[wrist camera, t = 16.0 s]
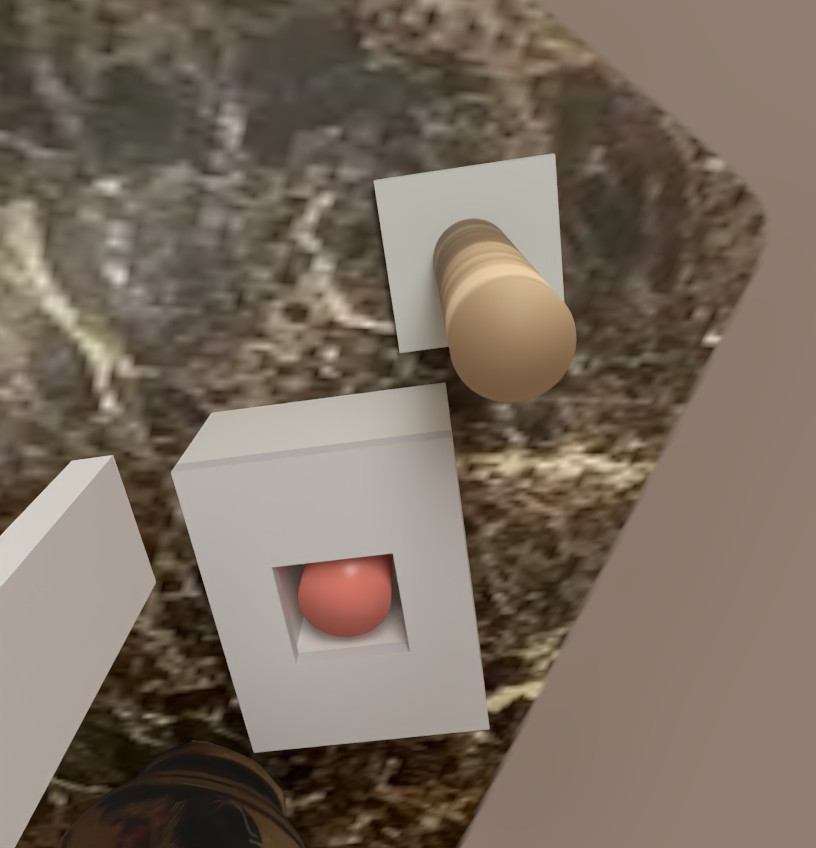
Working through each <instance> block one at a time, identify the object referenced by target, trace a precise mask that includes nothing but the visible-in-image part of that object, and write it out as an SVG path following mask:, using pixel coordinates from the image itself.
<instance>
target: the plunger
mask: <svg viewBox="0 0 816 848" xmlns="http://www.w3.org/2000/svg"><path fill="white" fill-rule="evenodd" d="M392 571H393V553H392V554H384V555H375V556H366V557H358V558H349V559H340V560H332V561H323V562H315V563H306V564H305V566H304V570H303V574H302V578H301V582H300V586H299V591H298V602H299V606H300V609H301V611H302V613H303V615H304V616H305V618H306V619H307V620H308V621H309V622H310V623H311V624H312V625H313V626H315V627H316V628H318V629H319V630H321V631H323V632H325V633H328V634H331V635H335V636H344V637H349V636H357V635H361V634H364V633H367V632H369V631H371V630H373V629H374V628H376V627H377V626H378V625H379V624H381V623H382V621H383V620H384V619H385V618H386V616H387V614H388V612H389V609H390V605H391V590H392Z"/></svg>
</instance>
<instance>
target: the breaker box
mask: <svg viewBox="0 0 816 848" xmlns="http://www.w3.org/2000/svg"><path fill="white" fill-rule="evenodd" d="M171 474H172V478H173V481H174V485H175V488H176V491H177V495H178V498H179V502H180V505H181V508H182V512H183V515H184V518H185V522H186V525H187V529H188V532H189V535H190V539H191V542H192V546H193V549H194V552H195V556H196V559H197V562H198V566H199V569H200V573H201V576H202V579H203V583H204V586H205V590H206V593H207V596H208V600H209V603H210V606H211V610H212V613H213V617H214V620H215V623H216V627H217V630H218V633H219V637H220V640H221V644H222V647H223V650H224V654H225V657H226V661H227V664H228V667H229V671H230V674H231V677H232V681H233V684H234V688H235V691H236V694H237V698H238V701H239V705H240V708H241V711H242V715H243V718H244V721H245V725H246V728H247V732H248V735H249V738H250V742H251V745H252V748H253V752H254V753H257V752H267V751H277V750H287V749H297V748H307V747H317V746H327V745H337V744H347V743H357V742H367V741H377V740H387V739H397V738H407V737H417V736H427V735H437V734H447V733H457V732H467V731H477V730H487V729H490V728H489V720H488V711H487V703H486V694H485V686H484V678H483V669H482V661H481V652H480V644H479V636H478V628H477V620H476V613H475V605H474V597H473V590H472V582H471V574H470V567H469V559H468V551H467V544H466V536H465V528H464V520H463V513H462V505H461V497H460V490H459V482H458V474H457V467H456V459H455V451H454V444H453V436H452V428H451V420H450V413H449V405H448V397H447V390H446V382H444V383H436V384H429V385H421V386H413V387H406V388H398V389H390V390H383V391H375V392H367V393H360V394H352V395H344V396H337V397H329V398H321V399H314V400H306V401H298V402H291V403H283V404H275V405H268V406H260V407H252V408H245V409H237V410H229V411H222V412H214V413H211V415H210V416H209V417H208V419H207V420H206V422H205V423H204V425H203V426H202V428H201V429H200V431H199V432H198V434H197V435H196V436H195V438H194V439H193V441H192V442H191V444H190V445H189V447H188V448H187V450H186V451H185V452H184V454H183V455H182V457H181V458H180V460H179V461H178V463H177V464H176V466H175V467H174V469H173V470H172V471H171ZM392 553H393V571H392V590H391V605H390V609H389V612H388V614H387V616H386V618H385V619H384V620H383V621H382V623H381V624H379V625H378V626H377V627H376V628H374V629H373V630H371V631H369V632H367V633H364V634H361V635H357V636H349V637H344V636H335V635H331V634H328V633H325V632H323V631H321V630H319V629H318V628H316V627H315V626H313V625H312V624H311V623H310V622H309V621H308V620H307V619H306V618H305V616H304V615H303V613H302V611H301V609H300V606H299V602H298V591H299V586H300V582H301V578H302V574H303V570H304V566H305V564H306V563H315V562H323V561H332V560H340V559H349V558H358V557H366V556H375V555H384V554H392Z"/></svg>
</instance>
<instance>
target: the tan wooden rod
mask: <svg viewBox="0 0 816 848" xmlns="http://www.w3.org/2000/svg"><path fill="white" fill-rule="evenodd" d="M433 265H434V270H435V276H436V281H437V286H438V292H439V297H440V302H441V308H442V313H443V318H444V324H445V329H446V334H447V340H448V345H449V350H450V355H451V360H452V363H453V366H454V368H455V370H456V372H457V374H458V376H459V377H460V378H461V380H462V381H463V382H464V383H465V384H466V385H467V386H468V387H469V388H470V389H471V390H473V391H474V392H475V393H477V394H479V395H480V396H483V397H485V398H487V399H490V400H494V401H499V402H520V401H525V400H529V399H532V398H535V397H537V396H539V395H541V394H543V393H544V392H546V391H548V390H549V389H550V388H552V387H553V386H554V385H555V384H556V383H557V382H558V381H559V380H560V379H561V378H562V377H563V375H564V374H565V373H566V371H567V369H568V368H569V366H570V364H571V361H572V359H573V356H574V352H575V347H576V329H575V324H574V320H573V317H572V315H571V313H570V311H569V309H568V307H567V306H566V304H565V303H564V302H563V301H562V299H561V298H560V297H559V296H558V295H557V294H556V292H555V291H554V290H553V289H552V288H551V287H550V286H549V284H548V283H547V282H546V281H545V280H544V279H543V278H542V276H541V275H540V274H539V273H538V272H537V271H536V269H535V268H534V267H533V266H532V265H531V264H530V263H529V261H528V260H527V259H526V258H525V257H524V256H523V255H522V253H521V252H520V251H519V250H518V249H517V248H516V247H515V245H514V244H513V243H512V242H511V241H510V240H509V239H508V237H507V236H506V235H505V234H504V233H503V232H502V231H501V229H499V228H498V227H497V226H496V225H494V224H493V223H491V222H489V221H486V220H483V219H476V218H471V219H465V220H461V221H458V222H456V223H454V224H453V225H451V226H450V227H448V228H447V229H446V230H445V231H444V232H443V233H442V235H441V236H440V238H439V239H438V241H437V243H436V246H435V249H434V254H433Z"/></svg>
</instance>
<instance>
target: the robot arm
mask: <svg viewBox="0 0 816 848" xmlns="http://www.w3.org/2000/svg"><path fill="white" fill-rule="evenodd" d="M155 584H156V580H155V577H154V574H153V572H152V569H151V566H150V563H149V560H148V557H147V554H146V551H145V548H144V545H143V542H142V539H141V536H140V533H139V530H138V527H137V524H136V521H135V518H134V515H133V512H132V510H131V507H130V504H129V501H128V498H127V495H126V492H125V489H124V486H123V483H122V480H121V477H120V474H119V471H118V468H117V465H116V462H115V459H114V456H113V455H110V456H103V457H96V458H89V459H81V460H74V461H71V462H70V463H69V464H68V465H67V467H66V468H65V469H64V470H63V471H62V472H61V473H60V474H59V475H58V476H57V477H56V478H55V479H54V480H53V481H52V482H51V483H50V484H49V485H48V486H47V487H46V489H45V490H44V491H43V492H42V493H41V494H40V495H39V496H38V497H37V498H36V499H35V500H34V501H33V502H32V503H31V504H30V505H29V506H28V507H27V508H26V509H25V511H24V512H23V513H22V514H21V515H20V516H19V517H18V518H17V519H16V520H15V521H14V522H13V523H12V524H11V525H10V526H9V527H8V528H7V529H6V530H5V531H4V533H3V534H2V535H1V536H0V848H15V846H16V844H17V842H18V841H19V839H20V837H21V835H22V833H23V831H24V829H25V827H26V826H27V824H28V822H29V820H30V818H31V816H32V814H33V812H34V811H35V809H36V807H37V805H38V803H39V801H40V799H41V797H42V796H43V794H44V792H45V790H46V788H47V786H48V784H49V782H50V781H51V779H52V777H53V775H54V773H55V771H56V769H57V767H58V766H59V764H60V762H61V760H62V758H63V756H64V754H65V752H66V751H67V749H68V747H69V745H70V743H71V741H72V739H73V737H74V736H75V734H76V732H77V730H78V728H79V726H80V724H81V722H82V721H83V719H84V717H85V715H86V713H87V711H88V709H89V707H90V705H91V704H92V702H93V700H94V698H95V696H96V694H97V692H98V690H99V689H100V687H101V685H102V683H103V681H104V679H105V677H106V675H107V674H108V672H109V670H110V668H111V666H112V664H113V662H114V660H115V659H116V657H117V655H118V653H119V651H120V649H121V647H122V645H123V644H124V642H125V640H126V638H127V636H128V634H129V632H130V630H131V629H132V627H133V625H134V623H135V621H136V619H137V617H138V615H139V614H140V612H141V610H142V608H143V606H144V604H145V602H146V600H147V599H148V597H149V595H150V593H151V591H152V589H153V587H154V585H155Z"/></svg>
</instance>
